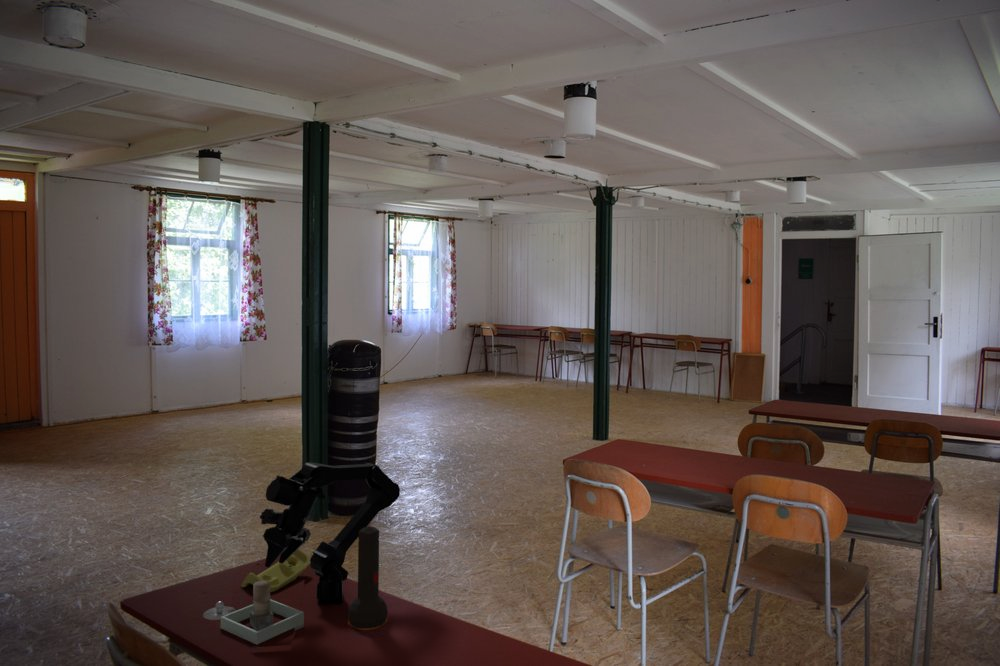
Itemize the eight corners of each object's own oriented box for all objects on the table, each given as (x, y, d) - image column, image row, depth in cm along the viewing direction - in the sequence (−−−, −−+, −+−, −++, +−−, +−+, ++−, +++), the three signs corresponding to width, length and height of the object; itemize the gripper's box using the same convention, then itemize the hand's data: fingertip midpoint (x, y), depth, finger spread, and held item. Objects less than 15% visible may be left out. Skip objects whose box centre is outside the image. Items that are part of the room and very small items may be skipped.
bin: (267, 612, 192) (268, 598, 191) (303, 626, 184) (303, 612, 183) (220, 631, 180) (220, 617, 180) (256, 648, 172) (256, 632, 172)
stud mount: (238, 609, 193) (238, 594, 193) (232, 622, 185) (232, 607, 185) (206, 610, 192) (206, 596, 191) (199, 624, 184) (199, 609, 183)
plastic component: (272, 589, 201) (246, 569, 203) (264, 610, 203) (238, 590, 205) (315, 561, 219) (290, 543, 222) (307, 580, 221) (283, 562, 224)
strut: (267, 621, 185) (267, 578, 184) (273, 627, 181) (273, 584, 180) (250, 625, 182) (250, 582, 181) (255, 632, 178) (255, 588, 178)
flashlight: (340, 622, 186) (368, 633, 181) (341, 527, 185) (369, 535, 180) (367, 609, 195) (394, 618, 189) (368, 518, 193) (396, 524, 188)
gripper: (287, 495, 203) (262, 548, 201) (259, 497, 185) (231, 555, 183) (321, 512, 201) (296, 565, 199) (297, 516, 183) (269, 574, 181)
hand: (273, 564), depth 190 cm, fingers open, 9 cm apart
